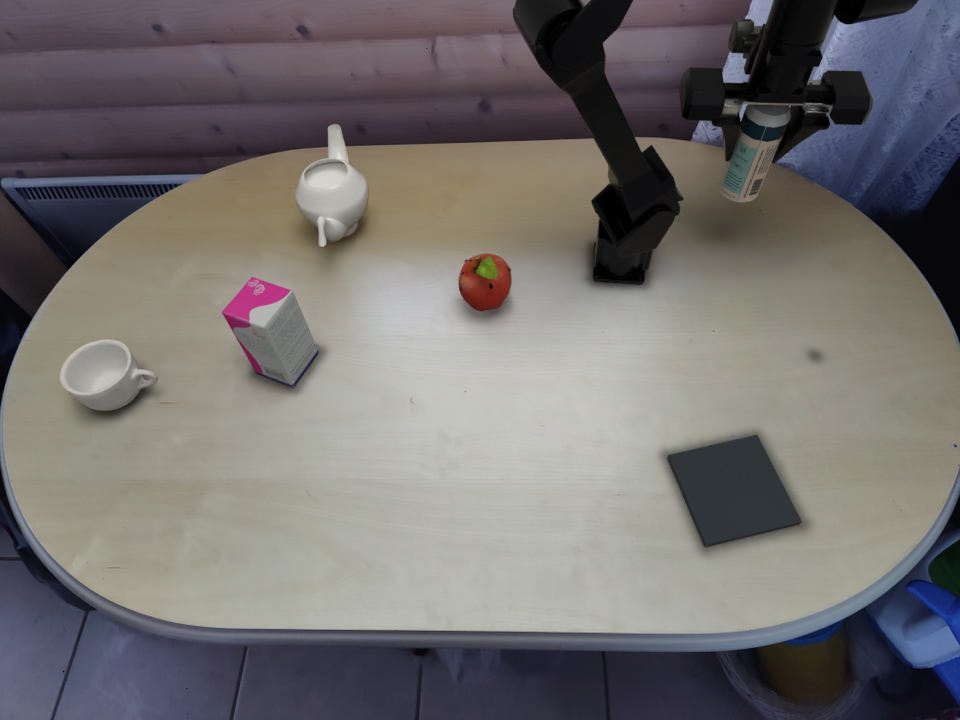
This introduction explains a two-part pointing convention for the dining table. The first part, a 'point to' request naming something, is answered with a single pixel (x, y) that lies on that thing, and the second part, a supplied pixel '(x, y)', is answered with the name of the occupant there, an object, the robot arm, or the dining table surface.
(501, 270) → the apple
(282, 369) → the supplement box
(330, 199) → the teapot
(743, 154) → the cream label cylinder
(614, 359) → the dining table surface
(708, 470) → the mat
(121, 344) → the teacup
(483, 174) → the dining table surface
